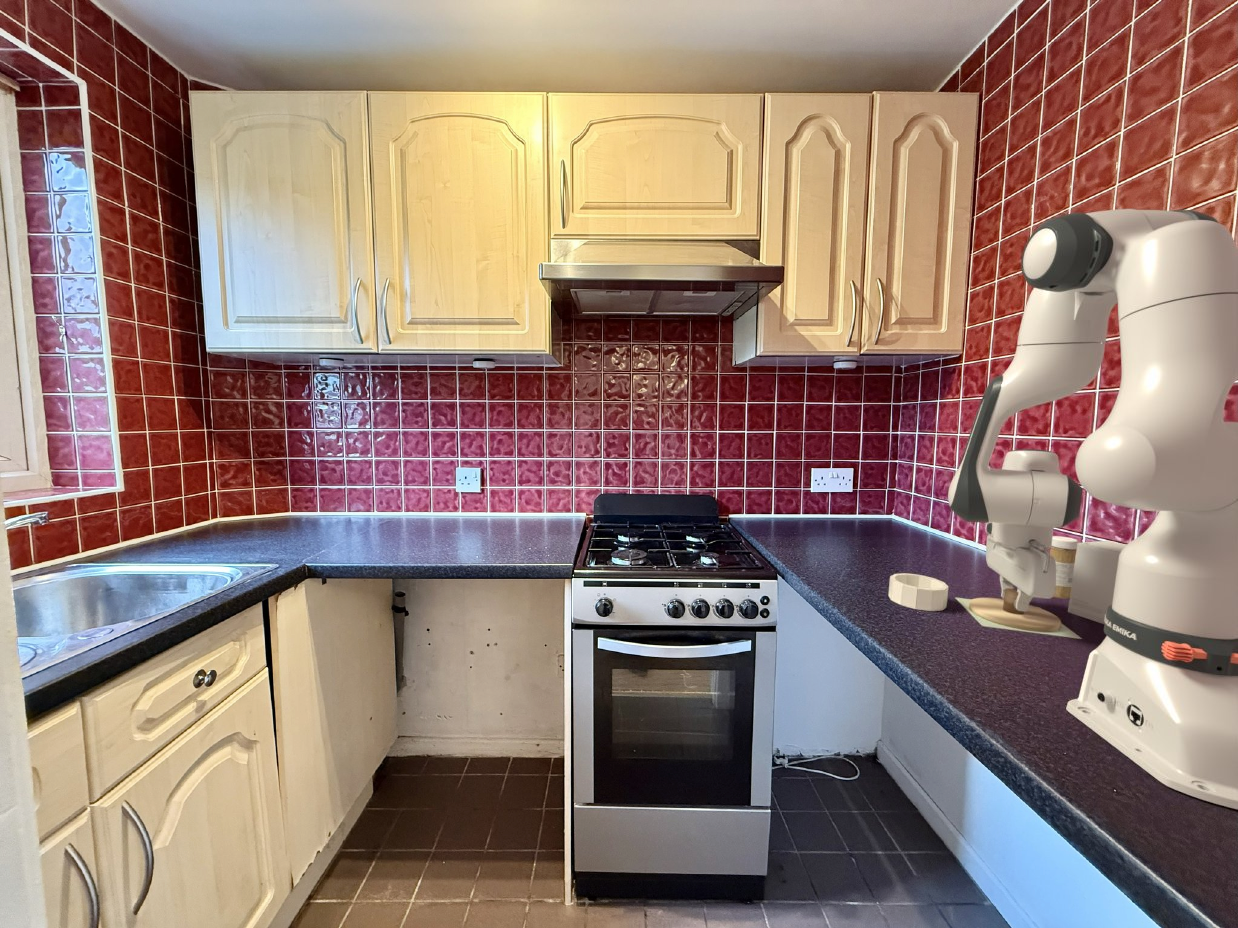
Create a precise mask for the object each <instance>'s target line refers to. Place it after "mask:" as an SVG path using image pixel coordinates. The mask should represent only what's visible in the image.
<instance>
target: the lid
mask: <svg viewBox="0 0 1238 928" xmlns="http://www.w3.org/2000/svg"><path fill="white" fill-rule="evenodd" d="M1017 589H1018V588H1014V589H1012V588H1006V589H1005V595H1004V599H1003V598H996V597H977V598H972V600H970V602H969V609H970V611H971V612H972V613H974V614H975V615H977V616H979V617H981V618H983V619H985V620H988V621H991V622H993V623H996V624H1000V625H1003V626H1007V627H1011V628H1016V629H1021V630H1027V631H1035V632H1053V631H1057V630H1059V629H1060V626H1061V623H1062V620H1061V618H1060V617H1058V616H1057V615H1055V614H1054V613H1052V612H1050V611H1048V610H1045V609H1043V608H1041V607H1040V608H1038V606H1034V605H1030V604H1029V607H1028V611H1027V612H1024V611H1018V610H1017V609H1016V608H1015V607H1014V599H1017V596H1018V592H1017Z"/></svg>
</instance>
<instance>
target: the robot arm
mask: <svg viewBox="0 0 1238 928" xmlns="http://www.w3.org/2000/svg"><path fill="white" fill-rule="evenodd" d="M1020 267H1021V269H1020V270H1021V272H1022V276H1023V278H1024V279H1025V282H1026V283H1027V284H1028V285H1029V286H1031V287H1032V288H1033V289H1032V290H1031V292H1030V294H1029V297H1028V299H1027V302H1026V305H1025V308H1024V312H1023V314H1022V318H1021V321H1020V322H1021V323H1020V326H1019V331H1018V336H1017V344H1016V350H1015V353H1014V357H1013V359H1012V361H1011V363H1010V365H1009V366H1008V368H1007V369H1006V370H1005V371H1004V372H1003V373H1002V374H1001V375H999V376H995V377H994V378H992V379H991V381H990V382H989V383H988V385H987V386H986V388H985V390H984V393H983V395H982V397H981V400H980V402H979V406H978V409H977V412H976V414H975V417H974V419H973V424H972V426H971V429H970V432H969V436H968V438H967V442H966V444H965V448H964V450H963V454H962V457H961V459H960V462H959V464H958V468H957V470H956V472H955V474H954V476H953V477H952V480H951V481H950V485H949V487H948V493H947V500H948V501H947V502H948V507H949V509H951V511H952V512H953V513H954V514H955V515H957V516H958V517H959V518H960V519H961V520H963V521H965V522H966V523H984V524H985V532H986V534H988V535H987V537H986V544H985V545H986V546H985V560H986V565H987V567H988V568H990V569H991V570H993V571H994V572H995V573H997V574H998V575H999V582H1000V588H1001V594H1000V596H1001V599H1004V595H1005V589H1006V588H1012V589H1015V587H1016V589H1017V592H1018V596H1017V599H1014V607H1015V608H1016V609H1017V610H1018V611H1024V612H1027V611H1028V607H1029V605H1030V602H1032V599H1033V598H1038V599H1049V600H1051V599H1052V598H1054V597H1053V596H1054V594H1055V587H1056V562H1055V559H1054V558H1053V556H1051V555H1050V551H1049V550H1050V548H1051V546H1052V538H1053V536H1054V528H1064V527H1066V526H1068V525H1070V524H1071V523H1073V522H1074V521H1076V520H1077V519H1079V518H1080V514H1081V513H1080V512H1081V505H1082V499H1083V489H1084V491H1086V492H1087V493H1088V494H1089V495H1090V496H1091V497H1093V498H1095V499H1097V500H1099V501H1101V502H1103V503H1108V504H1113V505H1116V506H1119V507H1123V508H1124V507H1125V508H1128V509H1134V510H1139V511H1145V512H1146V511H1148V512H1158V513H1157V515H1156V517H1155V519H1153V521H1152V523H1151V524H1150V525H1149V526H1148V528H1147V529H1146V530H1145V531H1144V532H1143V533H1141V534H1140V535H1139V536H1138V537H1136V538H1134V539H1133V540H1131V541H1129V542H1128V543H1127V544H1125V545H1126V546H1125V547H1124V548H1123V549H1122V551H1121V553H1120V555H1119V560H1118V567H1117V574H1116V581H1115V588H1114V595H1113V603H1112V605H1110V606H1108V608H1107V613H1106V614H1105V617H1104V622H1105V624H1103V625H1104V626H1103V632H1104V634H1105V635H1106V636H1105V638H1104V639H1103V640H1102V642H1101V643H1100V644H1099V645H1098V646H1097V647H1096V648H1095V649H1094V650H1092V651H1091V652H1090V653H1089V655H1088V659H1087V663H1086V666H1085V667H1086V668H1085V670H1084V674H1083V679H1082V683H1081V686H1080V691H1079V694H1078V697H1077V698H1074V699H1071V700H1069V701H1068V702H1067V705H1066V708H1065V709H1066V711H1068V712H1069V714H1071V715H1072V716H1074V717H1075V718H1076V719H1078V720H1079V721H1080V722H1082V723H1083V724H1084V725H1085V726H1086V727H1088V728H1089V729H1091V730H1092V731H1093V732H1094V733H1096V734H1097V735H1098V736H1100V737H1101V738H1102V739H1104V740H1105V741H1106V742H1108V743H1109V744H1110V745H1111V746H1113V747H1114V748H1115V749H1117V750H1118V751H1119V752H1121V753H1122V754H1123V755H1124V756H1126V757H1128V758H1129V759H1130V760H1131V761H1132V762H1134V763H1135V764H1136V765H1137V766H1139V767H1140V768H1141V769H1143V770H1144V771H1145V772H1146V773H1148V774H1150V775H1151V776H1152V777H1154V778H1155V779H1156V780H1157V781H1158V782H1160V783H1161V784H1163V785H1165V786H1166V787H1168V788H1171V789H1173V790H1175V791H1178V792H1181V793H1183V794H1186V795H1188V796H1191V797H1194V798H1197V799H1199V800H1202V801H1206V802H1209V803H1213V804H1216V805H1219V806H1224V807H1226V808H1231V809H1235V810H1238V421H1224V409H1225V407H1226V406H1225V405H1226V401H1227V399H1228V396H1229V393H1230V391H1231V389H1232V387H1233V385H1234V383H1235V382H1237V381H1238V245H1237V243H1236V242H1235V240H1234V238H1233V236H1232V234H1231V232H1230V230H1229V229H1228V228H1227V227H1226V226H1225V225H1223V224H1222V223H1219V221H1218V220H1217V218H1215V217H1213V216H1212V215H1209V214H1207V213H1204V212H1200V211H1195V210H1189V209H1175V210H1164V209H1163V210H1160V209H1135V208H1119V209H1111V210H1110V209H1109V210H1098V211H1093V212H1087V213H1084V212H1079V211H1078V212H1073V213H1068V214H1064V215H1059V216H1055V217H1052V218H1050V219H1048V220H1046V221H1044V222H1042V223H1041V224H1040V225H1039V226H1038V227H1037V228H1036V229H1035V230H1034V232H1032V234H1031V236H1030V237H1029V238H1028V240H1027V242H1026V244H1025V246H1024V248H1023V251H1022V255H1021V261H1020ZM1115 305H1117V312H1118V313H1117V314H1118V315H1117V316H1118V317H1117V318H1118V328H1119V329H1118V330H1119V331H1118V332H1119V340H1120V341H1119V342H1120V344H1119V345H1120V360H1121V361H1120V363H1121V365H1120V366H1121V377H1120V385H1119V390H1118V393H1117V397H1116V400H1115V403H1114V405H1113V407H1112V409H1111V411H1110V413H1109V415H1108V417H1107V418H1106V419H1105V421H1104V423H1103V424H1102V425H1100V427H1098V428H1097V429H1096V430H1095V431H1093V432H1092V433H1090V434H1088V435H1087V437H1086V438H1085V439H1084V441H1083V442H1082V443H1081V445H1080V446H1079V448H1078V451H1077V454H1076V457H1075V465H1074V466H1075V472H1076V476H1077V479H1078V481H1079V483H1078V482H1077V481H1076V480H1075V479H1073V478H1072V477H1070V476H1069V475H1068V474H1063V473H1062V472H1061V471H1060V464H1059V463H1060V462H1059V461H1060V460H1059V456H1058V453H1057V454H1056V453H1055V452H1053V451H1051V450H1045V449H1036V448H1033V449H1032V448H1025V449H1024V448H1023V449H1020V448H1019V449H1014V450H1010V451H1008V452H1007V453H1006V454H1005V457H1004V460H1003V463H1002V467H1001V468H995V467H994V468H993V467H991V466H990V465H989V464H990V461H991V459H992V455H993V453H994V450H995V446H996V444H997V441H998V438H999V435H1000V433H1001V430H1002V428H1003V425H1004V423H1006V422H1007V420H1008V419H1009V418H1011V417H1012V416H1013V415H1015V414H1017V413H1019V412H1021V411H1024V410H1026V409H1030V408H1032V407H1036V406H1040V405H1043V404H1044V405H1045V404H1047V403H1051V402H1055V401H1058V400H1060V399H1061V400H1062V399H1064V398H1067V397H1069V396H1071V395H1073V394H1076V393H1078V392H1080V391H1081V390H1083V389H1084V388H1086V387H1087V386H1089V385H1090V384H1091V382H1093V381H1094V379H1095V378H1096V377H1097V376H1098V374H1099V371H1100V369H1101V365H1102V362H1103V360H1104V359H1103V358H1104V354H1105V349H1106V342H1107V334H1108V325H1109V324H1108V323H1109V319H1110V314H1111V311H1112V310H1113V308H1114V307H1115ZM1014 586H1015V587H1014Z"/></svg>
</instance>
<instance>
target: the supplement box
mask: <svg viewBox="0 0 1238 928" xmlns="http://www.w3.org/2000/svg"><path fill="white" fill-rule="evenodd" d="M1126 545H1127V544H1123V543H1118V542H1115V541H1110V540H1099V541H1098V540H1097V541H1088V542H1087V541H1085V542H1078V543H1077V551H1076V555H1075V564H1074V571H1073V578H1072V585H1071V592H1070V598H1069V600H1068V607H1067V613H1070V614H1072V615H1075V616H1077V617H1082V618H1084V619H1086V620H1087V619H1088V620H1091V621H1094V622H1095V623H1096V622H1097V623H1099V624H1102V625H1104V624H1105V622H1104V617H1105V614H1106V613H1107V608H1108V606H1110V605H1112V603H1113V595H1114V588H1115V581H1116V574H1117V567H1118V560H1119V555H1120V553H1121V551H1122V549H1123V548H1124V547H1125V546H1126Z"/></svg>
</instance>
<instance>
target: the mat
mask: <svg viewBox="0 0 1238 928" xmlns="http://www.w3.org/2000/svg"><path fill="white" fill-rule="evenodd" d="M972 599H973V598H972ZM972 599H971V598H963V597H955V600H957V601H958V603H960V605H961V606H962V607H963V608H964V609H966V611H967V612H968V613H969V614H970V615H971V617H972V618H974V619H975V620H976V621H977V623H979V624H980V625H981V626H982V627H985V628H993V629H994V628H995V629H1001V630H1010V631H1016V632H1023V633H1025V632H1026V633H1031V634H1033V633H1034V634H1040V635H1047V636H1055V637H1065V638H1070V639H1071V638H1072V639H1078V640H1082V639H1083V638H1082V637H1081V636H1079V635H1078V634H1076V633H1075V632H1074V631H1073V630H1071V629H1070V628H1069V627H1067V626H1066V625H1065V624H1063V623H1062V622H1061V626H1060V629H1059V630H1057V631H1053V632H1035V631H1027V630H1021V629H1016V628H1011V627H1007V626H1003V625H1000V624H996V623H993V622H991V621H988V620H985V619H983V618H981V617H979V616H977V615H975V614H974V613H972V612H971V611H970V609H969V602H970V600H972ZM1037 607H1038V606H1037ZM1038 608H1041V607H1038Z"/></svg>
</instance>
